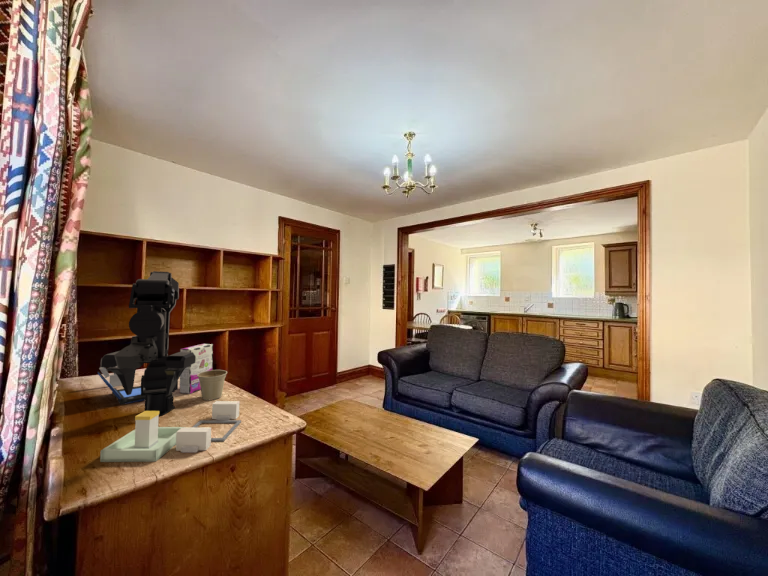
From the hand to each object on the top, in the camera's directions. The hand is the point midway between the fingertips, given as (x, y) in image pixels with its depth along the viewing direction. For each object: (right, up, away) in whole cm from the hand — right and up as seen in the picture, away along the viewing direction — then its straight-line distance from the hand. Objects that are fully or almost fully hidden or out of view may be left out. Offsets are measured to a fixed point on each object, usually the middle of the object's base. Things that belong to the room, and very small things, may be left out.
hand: (148, 394), depth 75 cm
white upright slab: (-47, -12, +43) cm, 64 cm away
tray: (0, -13, 0) cm, 13 cm away
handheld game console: (-33, -13, +32) cm, 47 cm away
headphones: (+10, -13, +10) cm, 19 cm away
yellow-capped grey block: (0, -12, 0) cm, 12 cm away
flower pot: (-4, -13, +35) cm, 37 cm away
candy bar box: (-15, -13, +43) cm, 47 cm away
